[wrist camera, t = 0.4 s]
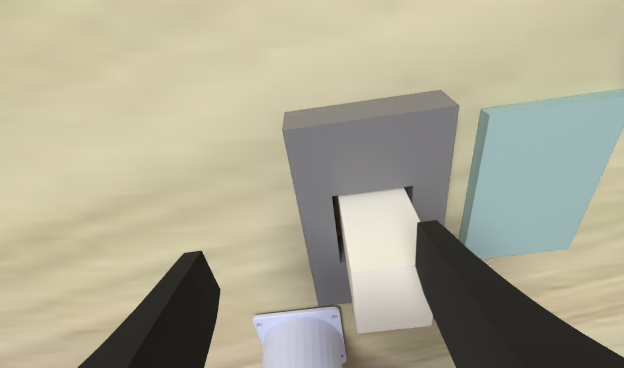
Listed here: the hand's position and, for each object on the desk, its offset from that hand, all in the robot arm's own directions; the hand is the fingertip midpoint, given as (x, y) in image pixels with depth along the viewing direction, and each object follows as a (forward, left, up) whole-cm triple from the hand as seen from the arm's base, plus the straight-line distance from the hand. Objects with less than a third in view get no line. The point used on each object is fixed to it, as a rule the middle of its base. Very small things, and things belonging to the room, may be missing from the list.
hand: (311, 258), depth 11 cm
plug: (-6, -3, -10) cm, 12 cm away
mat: (-6, -14, -10) cm, 19 cm away
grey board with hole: (-6, -3, -10) cm, 12 cm away
